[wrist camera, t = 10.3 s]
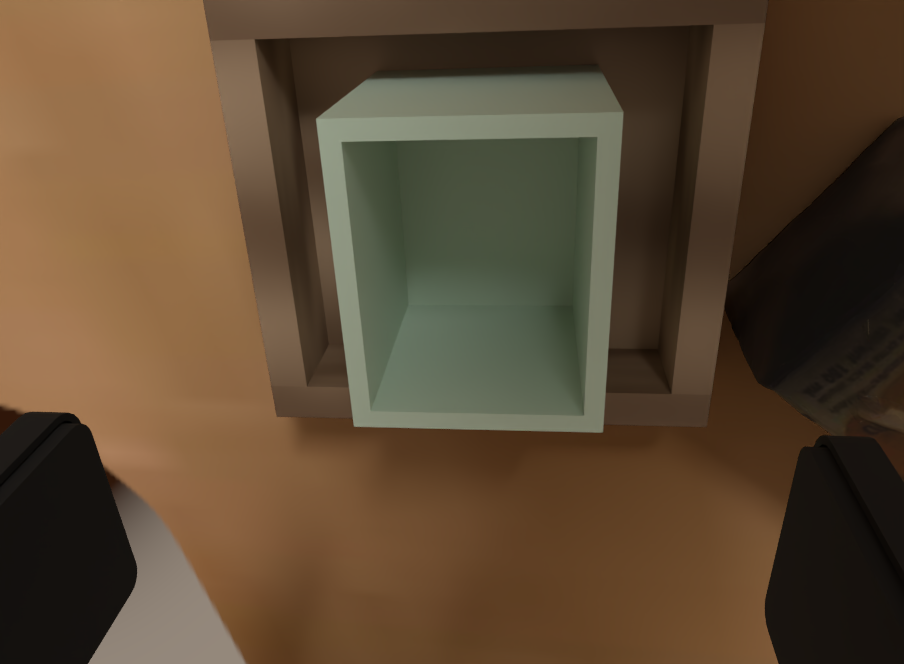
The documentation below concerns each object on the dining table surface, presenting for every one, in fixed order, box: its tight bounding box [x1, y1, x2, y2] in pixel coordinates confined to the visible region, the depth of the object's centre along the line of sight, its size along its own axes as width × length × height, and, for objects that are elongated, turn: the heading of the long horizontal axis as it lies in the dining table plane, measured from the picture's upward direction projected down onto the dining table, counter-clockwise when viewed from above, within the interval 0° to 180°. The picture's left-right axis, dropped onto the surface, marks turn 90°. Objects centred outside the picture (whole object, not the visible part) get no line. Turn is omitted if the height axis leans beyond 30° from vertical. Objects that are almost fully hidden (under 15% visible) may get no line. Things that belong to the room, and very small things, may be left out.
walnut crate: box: [203, 0, 769, 427], centre depth 23 cm, size 13×14×4 cm
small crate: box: [316, 65, 624, 433], centre depth 20 cm, size 8×6×7 cm
